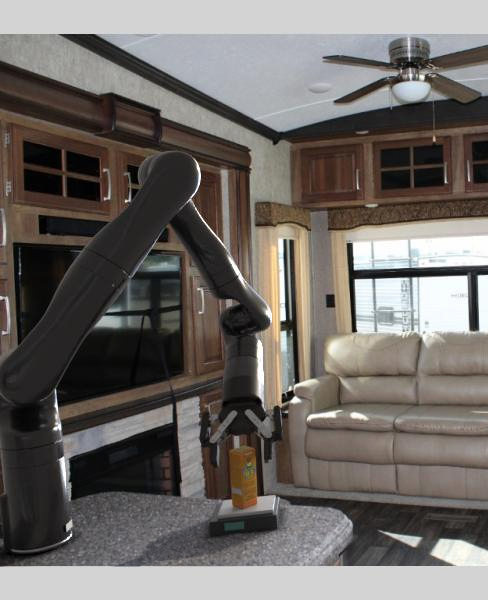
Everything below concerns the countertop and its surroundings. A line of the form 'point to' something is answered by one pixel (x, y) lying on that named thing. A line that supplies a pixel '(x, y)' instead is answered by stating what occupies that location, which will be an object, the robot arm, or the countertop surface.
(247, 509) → the scale
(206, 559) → the countertop surface
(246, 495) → the supplement box
